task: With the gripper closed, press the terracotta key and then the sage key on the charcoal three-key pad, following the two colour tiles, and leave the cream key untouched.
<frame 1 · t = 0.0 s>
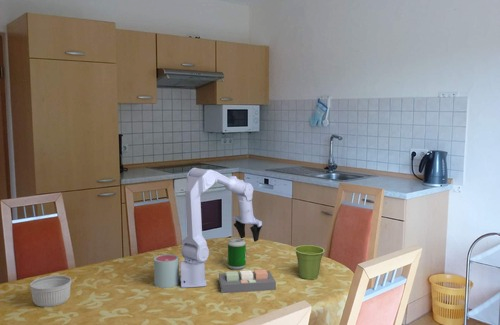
hand: (249, 239, 198), 11 cm above the table, tool pointing down, fingers open, 7 cm apart
keypad: (246, 285, 173), on the table
mug: (169, 281, 177), on the table
ramekin: (52, 301, 159), on the table
soda can: (236, 268, 193), on the table
cream key: (246, 277, 173), point 3 cm above the table, slide at 0.0 cm
terracotta key: (260, 276, 174), point 3 cm above the table, slide at 0.0 cm
sage key: (232, 277, 172), point 3 cm above the table, slide at 0.0 cm
plant pot: (309, 277, 182), on the table
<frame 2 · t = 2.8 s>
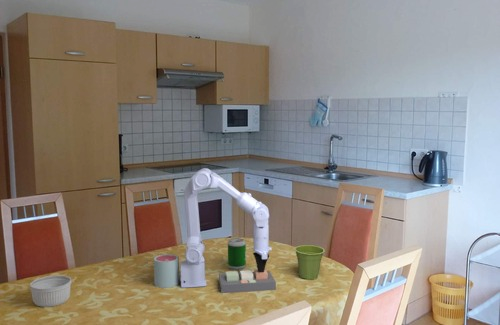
hand: (260, 271, 174), 5 cm above the table, tool pointing down, fingers closed, pressing on terracotta key
terracotta key: (260, 276, 174), point 3 cm above the table, slide at 0.0 cm, touching gripper
everything else where it was.
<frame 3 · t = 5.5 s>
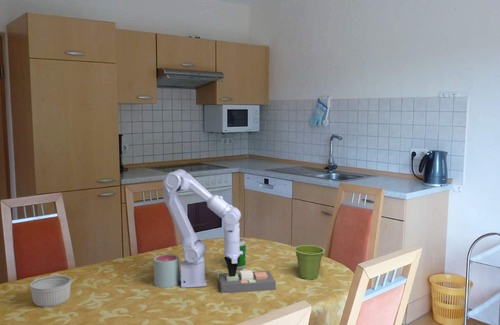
hand: (232, 276, 172), 4 cm above the table, tool pointing down, fingers closed, pressing on sage key
terracotta key: (260, 278, 174), point 2 cm above the table, slide at 1.0 cm
sage key: (232, 280, 172), point 2 cm above the table, slide at 1.0 cm, touching gripper
everything else where it was.
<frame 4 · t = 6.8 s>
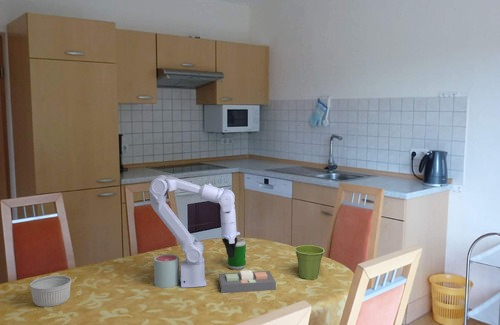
hand: (230, 257, 174), 10 cm above the table, tool pointing down, fingers closed
sage key: (232, 280, 172), point 2 cm above the table, slide at 1.0 cm
everything else where it was.
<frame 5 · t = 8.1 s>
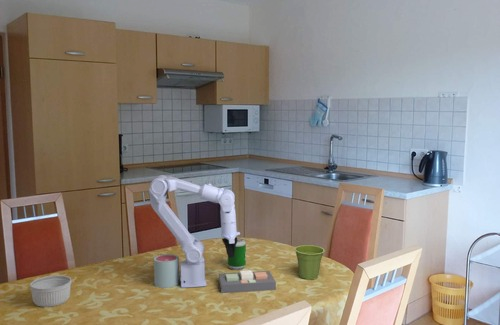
hand: (230, 257, 174), 10 cm above the table, tool pointing down, fingers closed
nothing on the table moved.
at the end: terracotta key slide at 1.0 cm; sage key slide at 1.0 cm; cream key slide at 0.0 cm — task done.
